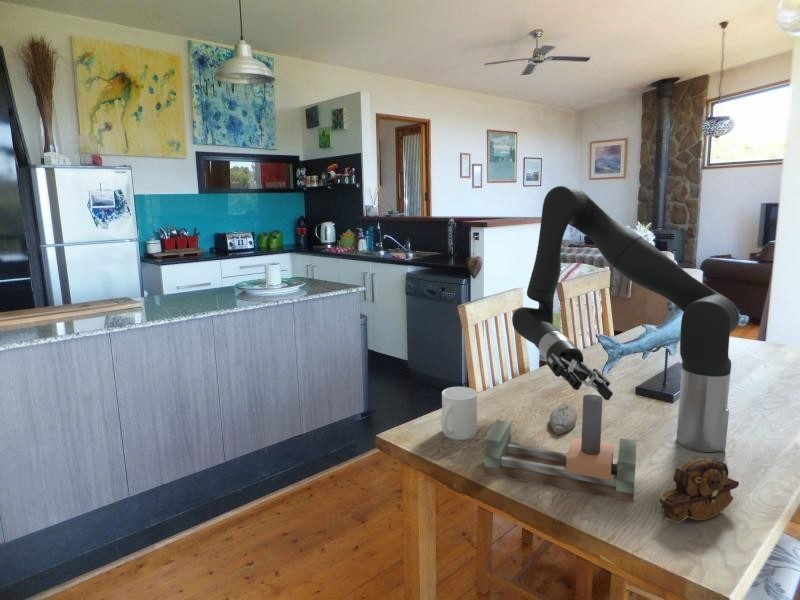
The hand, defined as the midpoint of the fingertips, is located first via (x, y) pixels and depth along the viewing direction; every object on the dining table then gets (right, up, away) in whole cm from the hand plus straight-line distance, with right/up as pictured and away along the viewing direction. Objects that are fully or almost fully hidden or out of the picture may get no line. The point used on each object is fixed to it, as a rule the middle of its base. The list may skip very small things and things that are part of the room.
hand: (594, 391), depth 112 cm
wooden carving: (+11, -18, -20) cm, 29 cm away
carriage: (-4, -13, -8) cm, 16 cm away
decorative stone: (-1, -11, +18) cm, 22 cm away
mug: (-28, -13, +13) cm, 34 cm away
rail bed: (-9, -16, -5) cm, 19 cm away
